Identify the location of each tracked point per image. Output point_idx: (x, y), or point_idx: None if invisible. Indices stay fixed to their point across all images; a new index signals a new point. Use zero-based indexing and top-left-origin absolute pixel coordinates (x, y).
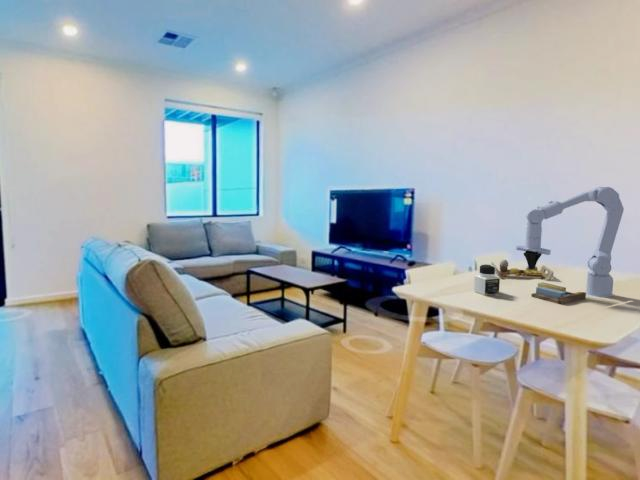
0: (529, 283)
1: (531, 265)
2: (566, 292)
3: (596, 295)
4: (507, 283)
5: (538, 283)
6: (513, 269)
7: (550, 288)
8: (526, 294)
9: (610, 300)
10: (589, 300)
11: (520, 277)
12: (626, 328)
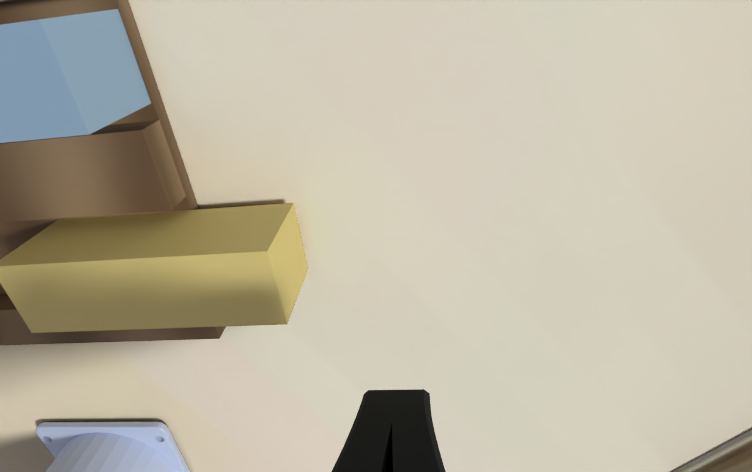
0: (586, 399)
1: (343, 453)
2: None
3: (73, 441)
4: (744, 236)
5: (259, 249)
6: None
7: (125, 245)
8: (269, 17)
9: (14, 434)
10: None
11: (745, 465)
12: None
